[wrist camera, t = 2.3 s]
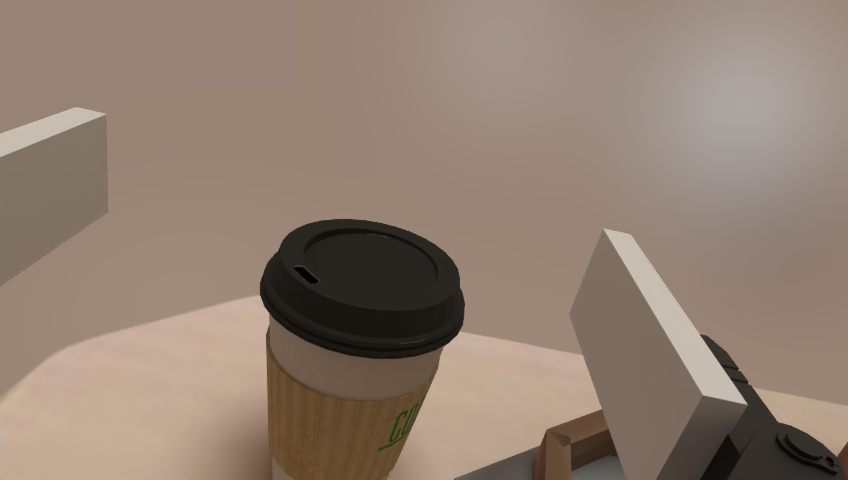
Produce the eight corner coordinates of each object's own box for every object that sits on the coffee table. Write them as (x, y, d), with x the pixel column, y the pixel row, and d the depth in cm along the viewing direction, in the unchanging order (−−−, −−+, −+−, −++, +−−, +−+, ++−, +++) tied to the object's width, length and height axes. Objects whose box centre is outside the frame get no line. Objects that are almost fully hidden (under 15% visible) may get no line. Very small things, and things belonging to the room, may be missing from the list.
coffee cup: (443, 504, 34) (515, 288, 27) (299, 603, 27) (349, 348, 20) (345, 401, 39) (385, 204, 33) (207, 461, 33) (223, 228, 26)
